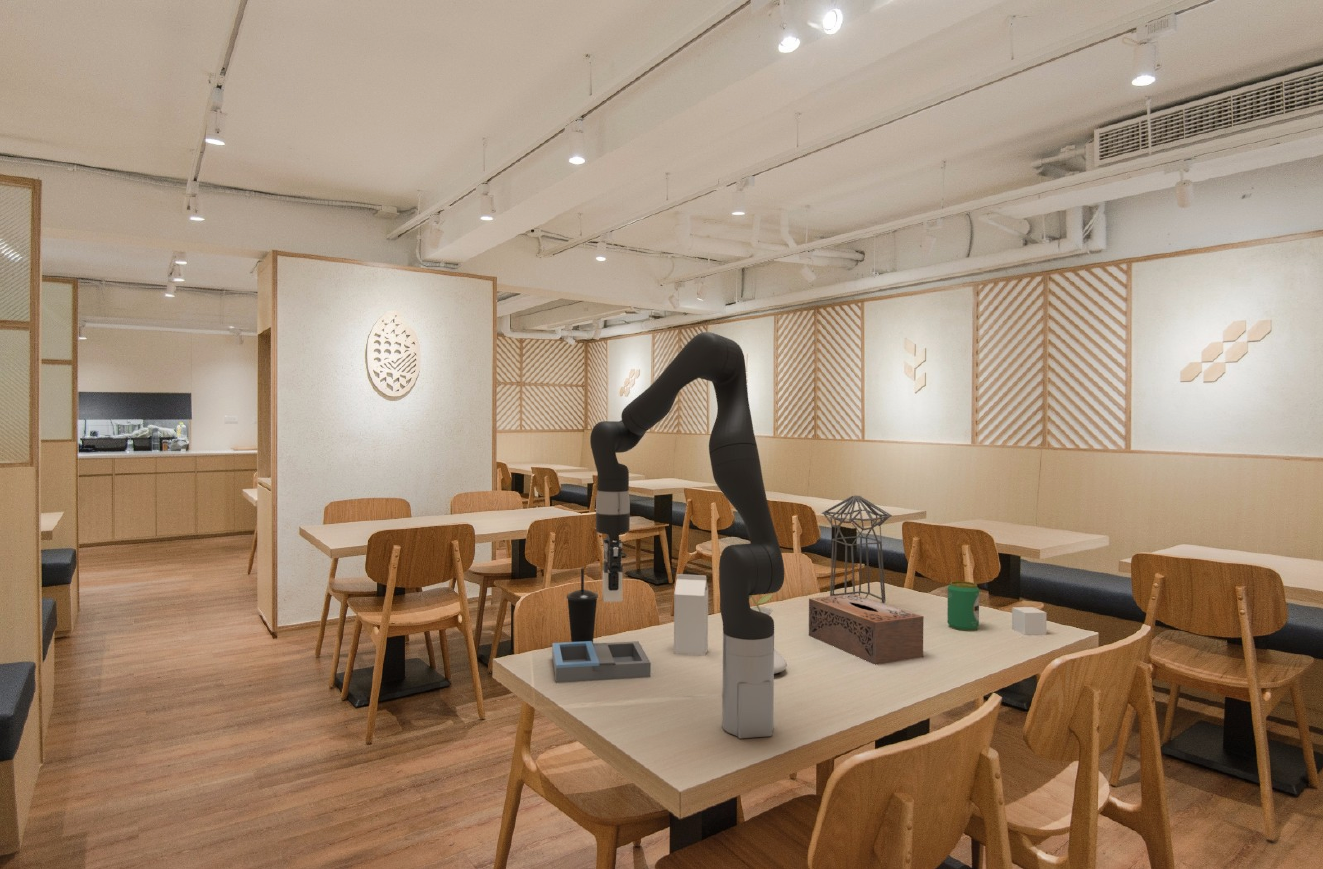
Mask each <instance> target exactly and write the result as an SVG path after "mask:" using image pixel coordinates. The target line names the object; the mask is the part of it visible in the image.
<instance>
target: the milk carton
mask: <svg viewBox="0 0 1323 869" xmlns="http://www.w3.org/2000/svg"><path fill="white" fill-rule="evenodd" d="M675 581H676V582H675V588H674V593H673V598H674V599H673V600H674V601H673V602H674V604H673V607H674V608H673V610H674V611H673V616H674V617H673V654H677V655H692V656H694V655H695V656H704V655H706V654H707V651H708V650H709V643H708V642H709V587H708V581H707V575H702V574H700V575H699V574H684V573H683V574H682V573H681V574H679V573H677V574H676V580H675Z"/></svg>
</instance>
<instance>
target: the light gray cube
mask: <svg viewBox="0 0 1323 869" xmlns="http://www.w3.org/2000/svg"><path fill="white" fill-rule="evenodd" d="M1047 614H1048V613H1047V612H1046V611H1044V610H1041V609H1038V608H1037V607H1033V606H1023V607H1021V606H1018V607H1015V606H1014V607H1011V629H1012V630H1013V631H1015V632H1017V633H1020V634H1022V635H1023V636H1042V635H1043V636H1044V635H1045V636H1047Z"/></svg>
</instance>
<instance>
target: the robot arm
mask: <svg viewBox="0 0 1323 869" xmlns="http://www.w3.org/2000/svg"><path fill="white" fill-rule="evenodd" d="M697 379H702V380H704V381H705V380H706V381H709V382H711V383H712V385H713V390H714V393H715V397H716V398H715V399H716V404H717V406H716V407H717V413H716V418H715V421H714V423H713V426H712V430H711V433H710V436H709V441H708V452H709V458H710V459H709V460H710V466H711V472H712V477H713V479H714V482H715V484H716V486H717V488H718V489H719V490H720V492H721V493H722V494H723V495H724V497H725V498H726V499H727V500H728V502H729V503H730V504H731V505H732V506H733V508H734V509H735V510H736V512H737V513H738V514H739V515H740V517H741V519H742V521H743V523H744V525H745V529H746V531H747V532H746V533H747V534H748V538H749V543H743V544H742V543H740V544H739V543H737V544H730V545H727V546H726V547H724V548H723V549H722V551H721V554H720V557H719V562H718V563H719V564H718V581H719V600H720V601H719V604H720V608H719V609H720V615H721V622H722V690H721V691H722V694H721V696H722V699H721V700H722V702H721V704H722V707H721V708H722V709H721V710H722V712H721V714H722V715H721V718H722V719H721V723H722V724H721V725H722V728H723V730H724V731H725V732H727V733H728V734H731V735H733V736H735V737H737V738H739V739H750V738H751V739H752V738H762V737H772V736H773V732H774V731H773V730H774V726H775V725H774V723H775V722H774V714H775V713H774V710H775V708H774V704H775V703H774V700H775V699H774V698H775V697H774V696H775V694H774V691H775V690H774V689H775V687H774V686H775V682H774V680H775V675H774V649H775V621H774V618H773V617H772V616H771V615H767V614H765V613H762V612H759V611H755V610H752V609H751V608H752V607H751V603H750V599H749V596H751V595H752V596H758V595H759V596H760V595H767V594H768V595H770V594H775V593H777V592H779V591H780V590H781V589H782V587H783V585H784V581H785V563H784V560H783V554H782V550H781V547H780V543H779V539H778V535H777V533H776V530H775V526H774V522H773V519H772V515H771V512H770V508H769V504H768V499H767V493H766V490H765V489H766V488H765V483H764V478H763V473H762V471H763V470H762V467H761V459H760V455H759V449H758V445H757V441H756V436H755V430H754V427H753V419H752V414H751V408H750V402H749V395H748V394H749V393H748V392H749V391H748V385H747V384H748V383H747V367H746V358H745V355H744V352H743V349H742V347H741V346H740V344H739V343H737V342H736V341H734V340H733V339H730V338H728V337H725V336H722V335H720V334H718V333H717V334H716V333H714V332H710V331H703V332H700V333H697V334H696V335H695V336H693V337H692V338H691V339H690V340H689V341H688V342H687V343H686V344H685V345H684V346H683V348H682V349H681V350H680V351H679V353H678V354H677V355H676V356H675V358H673V360H672V361H670V363H669V364H668V365H667V366H666V368H665V369H664V370H663V372H662V373H661V374H660V375H658V377H657V378H656V379H655V380H654V382H653V383H652V384H651V385H650V386H648V387H647V389H645V390H644V391H643V392H642V393H640V394H639V395H638V396H637V397H635V398H634V399H633V400H632V401H631V402H630V403H628V404H627V405H626V406H625V407H624V409H623V410H622V412H621V416H620V417H621V420H619V421H614V420H613V421H610V420H609V421H608V420H607V421H599V422H597V423H596V424H595V425H594V426H593V428H592V429H591V433H590V442H589V444H590V449H591V453H592V457H593V461H594V465H595V468H596V472H597V484H596V485H597V488H596V489H597V492H596V499H595V532H596V533H598V534H602V535H603V534H604V535H605V538H604V539H603V540H602V546H603V558H604V561H603V562H607V563H608V570H607V571H608V589H609V590H610V591H612V590H618V588H619V572H620V570H621V564H622V552H623V541H622V539H620V535H621V534H622V535H623V534H627V533H629V532H630V526H631V525H630V524H631V523H630V522H631V521H630V518H631V517H630V515H631V514H630V513H631V512H630V511H631V510H630V509H631V507H630V505H631V502H630V501H631V500H630V491H629V490H630V489H629V488H630V481H629V480H630V474H629V473H630V471H629V467H628V466H627V465H625V464H623V463H619V461H618V457H617V453H618V454H619V453H620V454H621V453H627V452H628V451H630V450H632V449H634V448H635V447H636V446H637V445H638V444H639V442H640V441H641V440H642V438H643V437H644V435H646V432H647V431H649V430H651V429H652V428H653V427H654V426H656V425H657V424H659V422H661V421H662V420H663V419H664V418H665V417H666V416H667V415H668V414H669V413H670V412H671V410H672V408H673V406H674V403H675V401H676V399H677V396H678V394H679V393H680V391H681V390H682V389H683V388H684V387H686V386H688V384H690V383H692V382H693V381H695V380H697ZM612 563H617V566H612Z"/></svg>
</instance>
